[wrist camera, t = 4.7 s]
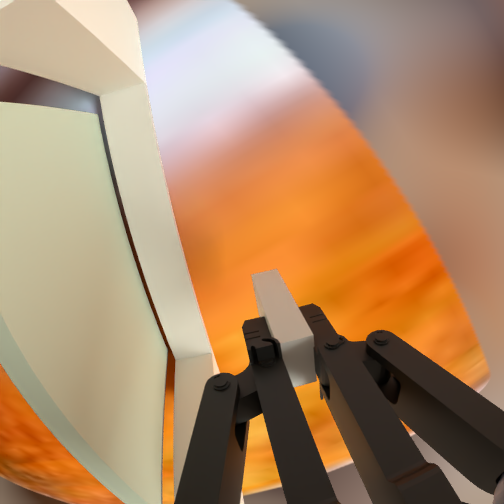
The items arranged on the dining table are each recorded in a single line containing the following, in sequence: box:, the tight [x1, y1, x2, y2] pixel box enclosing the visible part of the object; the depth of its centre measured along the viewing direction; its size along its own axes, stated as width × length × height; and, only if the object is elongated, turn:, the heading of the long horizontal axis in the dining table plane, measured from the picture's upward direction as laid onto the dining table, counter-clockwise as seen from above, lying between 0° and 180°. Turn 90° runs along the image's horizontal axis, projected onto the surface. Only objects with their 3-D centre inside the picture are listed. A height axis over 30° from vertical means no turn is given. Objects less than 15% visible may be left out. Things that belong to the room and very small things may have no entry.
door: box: [0, 102, 168, 504], centre depth 13 cm, size 19×3×16 cm, turn 10°
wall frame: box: [0, 0, 244, 504], centre depth 14 cm, size 30×3×15 cm, turn 10°
